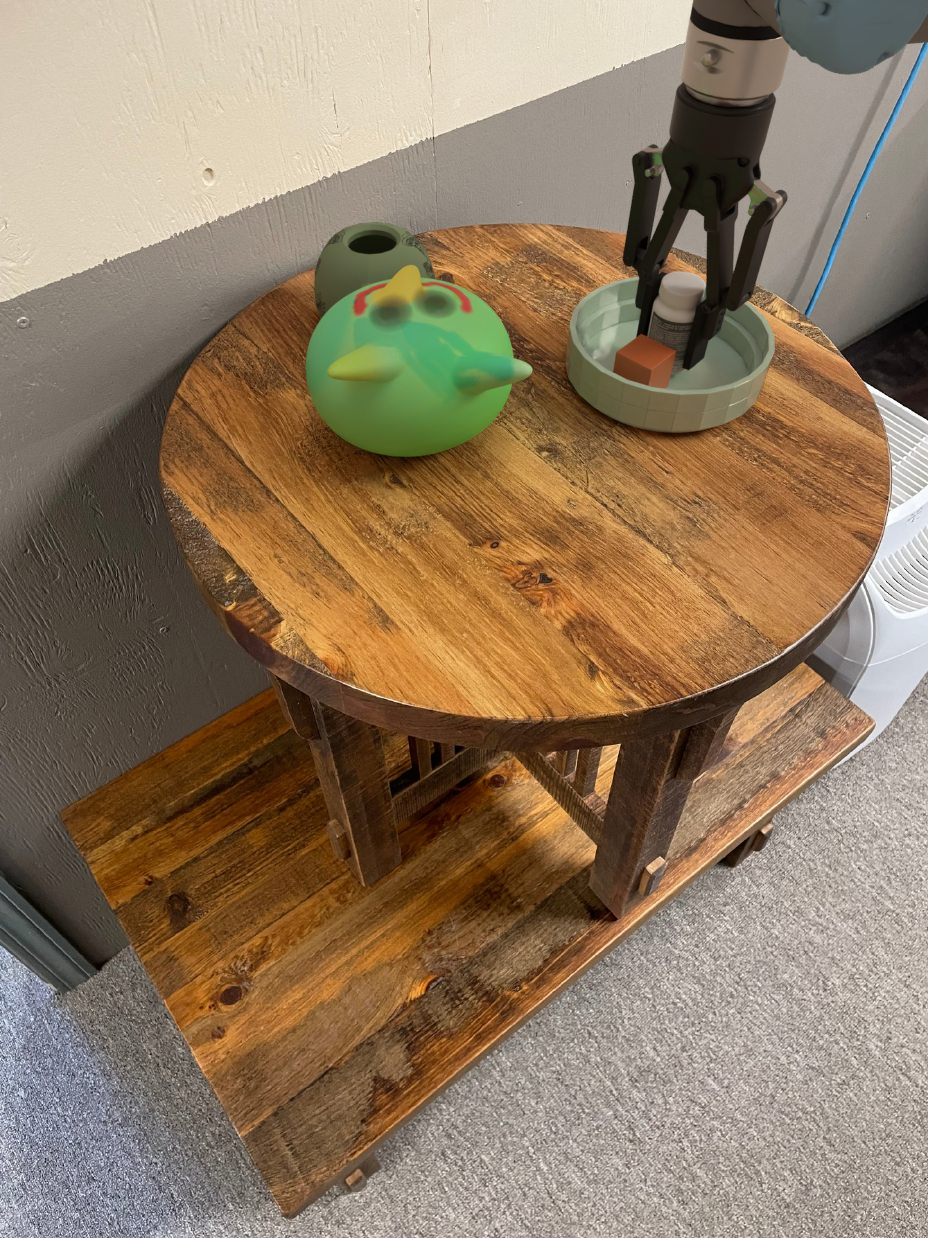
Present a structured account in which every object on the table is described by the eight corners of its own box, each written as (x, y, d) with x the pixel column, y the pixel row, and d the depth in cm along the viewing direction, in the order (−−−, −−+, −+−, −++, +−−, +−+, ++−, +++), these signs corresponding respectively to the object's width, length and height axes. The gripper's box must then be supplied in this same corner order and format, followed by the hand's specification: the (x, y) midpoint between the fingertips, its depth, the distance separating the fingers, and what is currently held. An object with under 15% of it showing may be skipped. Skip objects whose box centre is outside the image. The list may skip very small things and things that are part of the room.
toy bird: (487, 368, 86) (492, 225, 75) (532, 482, 76) (546, 336, 65) (307, 392, 84) (283, 247, 72) (329, 513, 74) (305, 368, 62)
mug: (325, 282, 96) (315, 204, 89) (441, 285, 96) (440, 207, 89) (304, 370, 86) (291, 291, 79) (434, 373, 86) (432, 294, 79)
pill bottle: (694, 376, 83) (714, 297, 77) (645, 376, 83) (661, 297, 77) (687, 347, 86) (706, 269, 80) (640, 346, 86) (655, 268, 80)
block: (668, 386, 83) (676, 350, 80) (644, 405, 82) (651, 370, 78) (634, 368, 85) (641, 333, 82) (610, 387, 83) (616, 351, 80)
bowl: (795, 369, 86) (811, 325, 82) (692, 467, 78) (704, 423, 74) (636, 297, 94) (644, 254, 90) (525, 379, 85) (529, 334, 81)
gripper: (603, 70, 67) (572, 332, 86) (810, 138, 60) (728, 408, 78) (657, 43, 71) (616, 300, 89) (859, 104, 64) (770, 371, 82)
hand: (669, 350), depth 84 cm, fingers closed on pill bottle, 5 cm apart
